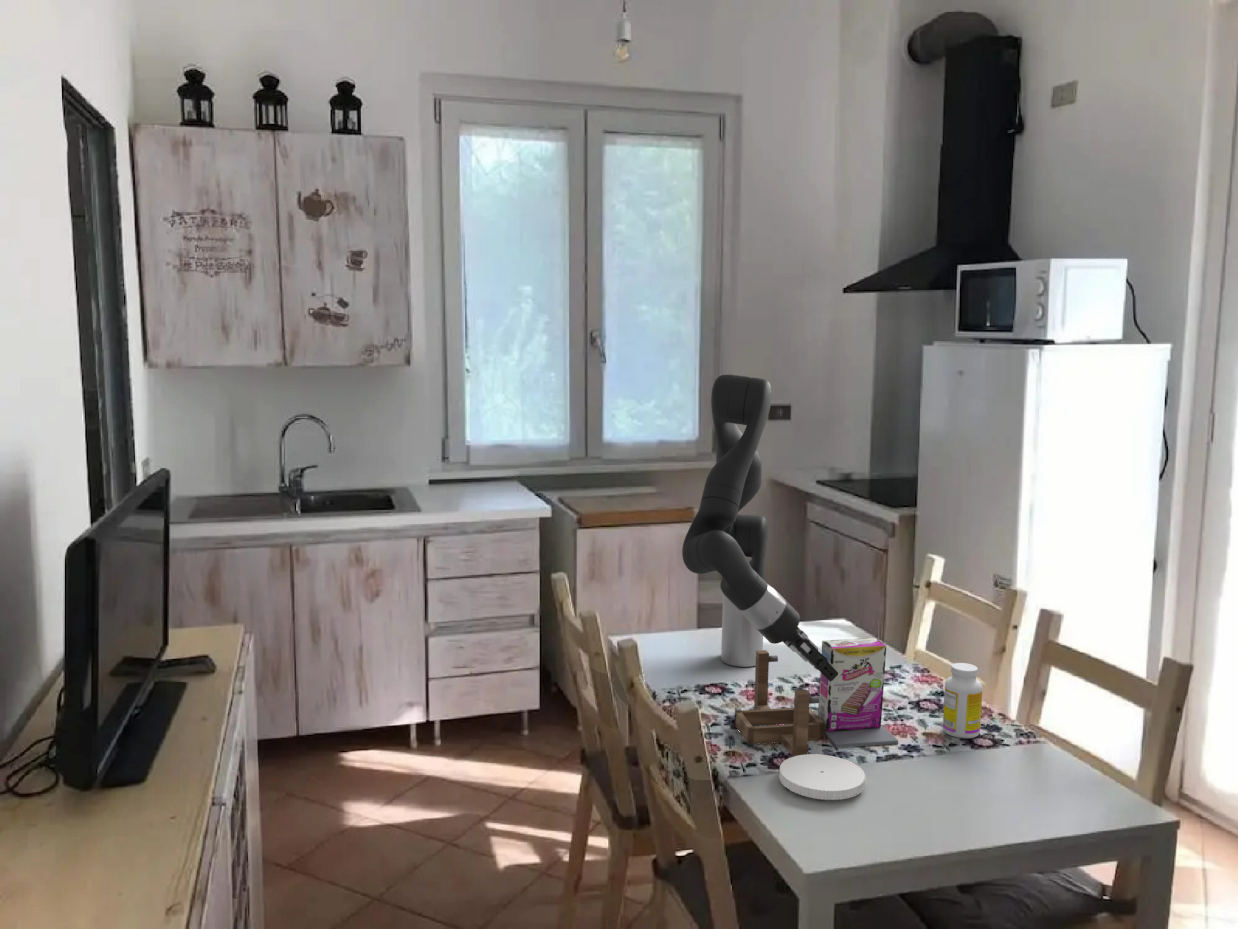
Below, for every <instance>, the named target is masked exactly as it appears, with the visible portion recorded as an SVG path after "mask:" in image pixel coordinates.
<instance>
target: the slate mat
mask: <svg viewBox="0 0 1238 929" xmlns="http://www.w3.org/2000/svg"><path fill="white" fill-rule="evenodd" d="M812 711H813V712H814V713H815V714H816V715H817V716H818V709H817V710H815V709H814V710H812ZM825 739H828V741H829V742H830V743H831V744H832V745H833V747H835V748H836V749H837V748H853V747H863V746H864V747H865V746H866V747H867V746H869V747H870V746H881V745H883V746H885V745H895V744H899V740H898V739H897V738H896V736H894V735H893V734H892V733H891V732H890V731H889V730H888V729H887V728H885V726H883V725H882V724H881V728H870V729H857V730H843V731H830V732H827V731H826V730H825Z"/></svg>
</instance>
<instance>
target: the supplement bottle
mask: <svg viewBox="0 0 1238 929" xmlns="http://www.w3.org/2000/svg"><path fill="white" fill-rule="evenodd" d="M950 672H951V676H949V677H947V679H946V680H945V682H944V697H943V715H942V716H943V717H942V729H943V731H944V732H945V734H947V735H949V736H951V737H954V738H960V739H973V738H977V737H978V736H979V735H980V732H981V721H982V720H981V718H982V701H983V700H982V699H983V685H982V683H981V682H980V681H979V679H977V677H978V675H979V674H978V673H979V668H978V666H976V665H974V664H971V663H967V662H966V663H965V662H955V663H952V664H951V669H950Z"/></svg>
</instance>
